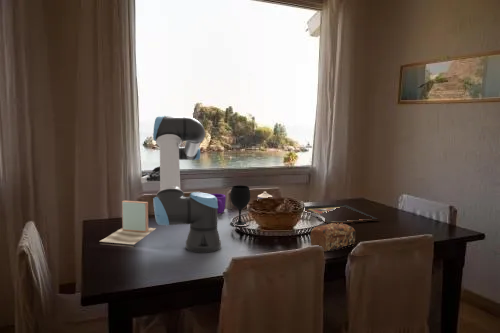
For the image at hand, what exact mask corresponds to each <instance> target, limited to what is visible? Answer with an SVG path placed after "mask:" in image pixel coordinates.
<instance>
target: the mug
mask: <svg viewBox="0 0 500 333" xmlns="http://www.w3.org/2000/svg"><path fill="white" fill-rule="evenodd" d="M210 194H211V195H214V196H215V197H216V198H217V202H218V211H217V215H219V214H222V213H224V212H225V209H226V199H227V197H226V195H225V194H223V193H210Z"/></svg>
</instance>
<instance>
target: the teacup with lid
mask: <svg viewBox="0 0 500 333" xmlns="http://www.w3.org/2000/svg"><path fill="white" fill-rule="evenodd" d="M268 197H272V198H273V195H271V194H269V193H267V191H263V193H261V194H258V195H257V200H258V199H263V198H268Z"/></svg>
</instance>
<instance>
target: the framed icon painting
mask: <svg viewBox="0 0 500 333" xmlns="http://www.w3.org/2000/svg"><path fill="white" fill-rule="evenodd" d="M304 206H305V205H304ZM340 207H346V208H348V209H351V210H353V211H356V212H359V213H361V214H364V215H366V216H370V217H372V219H378V218H377V217H374V216H372V215H370V214H368V213H366V212H363V211H361V210H359V209H357V208H354V207H351V206H350V205H347V204H326V205H324V204H323V205H307V206H305V211H307V212H311V213H315V214H316V213H318V214H319V215H320V214H322V213H324V212H326V213H327V211H328V212H329V211H333V210H335V209H336V208H340ZM305 211H304V212H305ZM372 219H359V220H347V221H328V220H326V219H325V222H327V223H329V224H331V223H343V222H353V221H363V220H372ZM325 222H324V223H325Z"/></svg>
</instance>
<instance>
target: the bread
mask: <svg viewBox="0 0 500 333" xmlns="http://www.w3.org/2000/svg"><path fill="white" fill-rule="evenodd" d="M356 233H357V232H356V230H355V229H354V227H353V226H350V225H348V224H343V223H340V224H339V223H337V224H336V223H331V224H323V225H318V226H316V227H314V228H312V229H311V231H310V245H311V246H312V245H319V246H322V247H323V248H324V250H325V251H324V252H327V251H326V250H328V251H331V250H330V249H334V248H338V247H343V246H347V245H351V244H355V241H356V235H357V234H356Z"/></svg>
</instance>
